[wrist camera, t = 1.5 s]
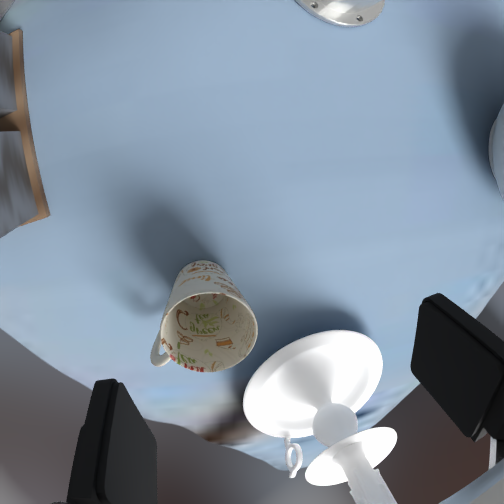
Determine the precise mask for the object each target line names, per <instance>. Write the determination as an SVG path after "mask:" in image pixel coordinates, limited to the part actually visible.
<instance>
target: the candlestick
mask: <svg viewBox="0 0 504 504" xmlns="http://www.w3.org/2000/svg"><path fill="white" fill-rule="evenodd" d="M382 366H383V362H382V355H381V352H380V350H379V348H378V346H377V345H376V343H375V342H374V341H373V340H371V339H370V338H369V337H367V336H365V335H363V334H361V333H358V332H355V331H349V330H330V331H324V332H319V333H315V334H312V335H308V336H306V337H303V338H301V339H298V340H296V341H294V342H292V343H290V344H288V345H287V346H285V347H283V348H282V349H280V350H279V351H277V352H276V353H274V354H273V355H272V356H271V357H269V358H268V359H267V360H266V361H265V362H264V363H263V364H262V365H261V366H260V367H259V368H258V369H257V370H256V372H255V373H254V374H253V376H252V377H251V379H250V381H249V383H248V385H247V387H246V389H245V393H244V397H243V409H244V413H245V415H246V418H247V419H248V421H249V422H250V423H251V424H252V425H253V426H254V427H255V428H256V429H258V430H259V431H261V432H263V433H265V434H268V435H271V436H275V437H282V438H285V440H284V443H285V448H286V452H285V461H286V465H287V467H288V469H289V470H290V476H289V478H293V477H295V475H296V472H297V470H298V469H299V468H300V467H301V465H302V460H303V454H302V450H301V447H300V446H299V445H298V444H296V443H293V444H291V442H290V438H297V437H305V436H310V435H314V436H315V438H316V439H317V440H318V441H319V442H320V443H321V444H323V445H325V446H327V447H329V448H327V449H326V450H325V451H323V452H322V453H321V454H319V455H318V456H317V457H316V458H315V459H314V460H313V461H312V462H311V463H310V465H309V466H308V468H307V470H306V472H305V478H306V480H307V481H308V482H309V483H311V484H314V485H318V486H327V485H334V484H338V483H342V482H345V481H349V482H348V485H349V486H350V488H351V491H350V494H351V495H352V496H353V498H354V500H355V502H356V504H397V503H396V501H395V499H394V497H393V496H392V494H391V493H390V491H389V489H388V487H387V485H386V484H385V482H384V480H383V478H382V477H381V475H380V473H379V469H377V470H374V469H373V467H375V466H376V465H377V464H378V463H380V462H381V461H382V460H383V459H384V458H385V457H386V456H387V455H388V454H389V453H390V452H391V450H392V449H393V447H394V446H395V443H396V440H397V433H396V432H395V430H393V429H392V428H388V427H377V428H371V429H367V430H364V431H361V432H358V433H357V427H358V422H357V417H356V415H355V413H356V412H357V411H358V410H359V409H360V408H361V407H362V406H363V405H364V404H365V403H366V402H367V400H368V399H369V398H370V396H371V395H372V394H373V392H374V390H375V389H376V387H377V385H378V382H379V380H380V377H381V373H382ZM293 448H294V449H295V451H296V463H295V465H294V466H293V464H292V462H291V452H292V450H293Z"/></svg>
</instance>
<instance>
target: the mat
mask: <svg viewBox="0 0 504 504" xmlns="http://www.w3.org/2000/svg"><path fill="white" fill-rule="evenodd" d="M14 1H15V0H0V21H1V19H2V18H3V16H4V15H5V13H6V12H7V10H8V9H9V8H10V6H11V5H12V4H13V2H14Z"/></svg>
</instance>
